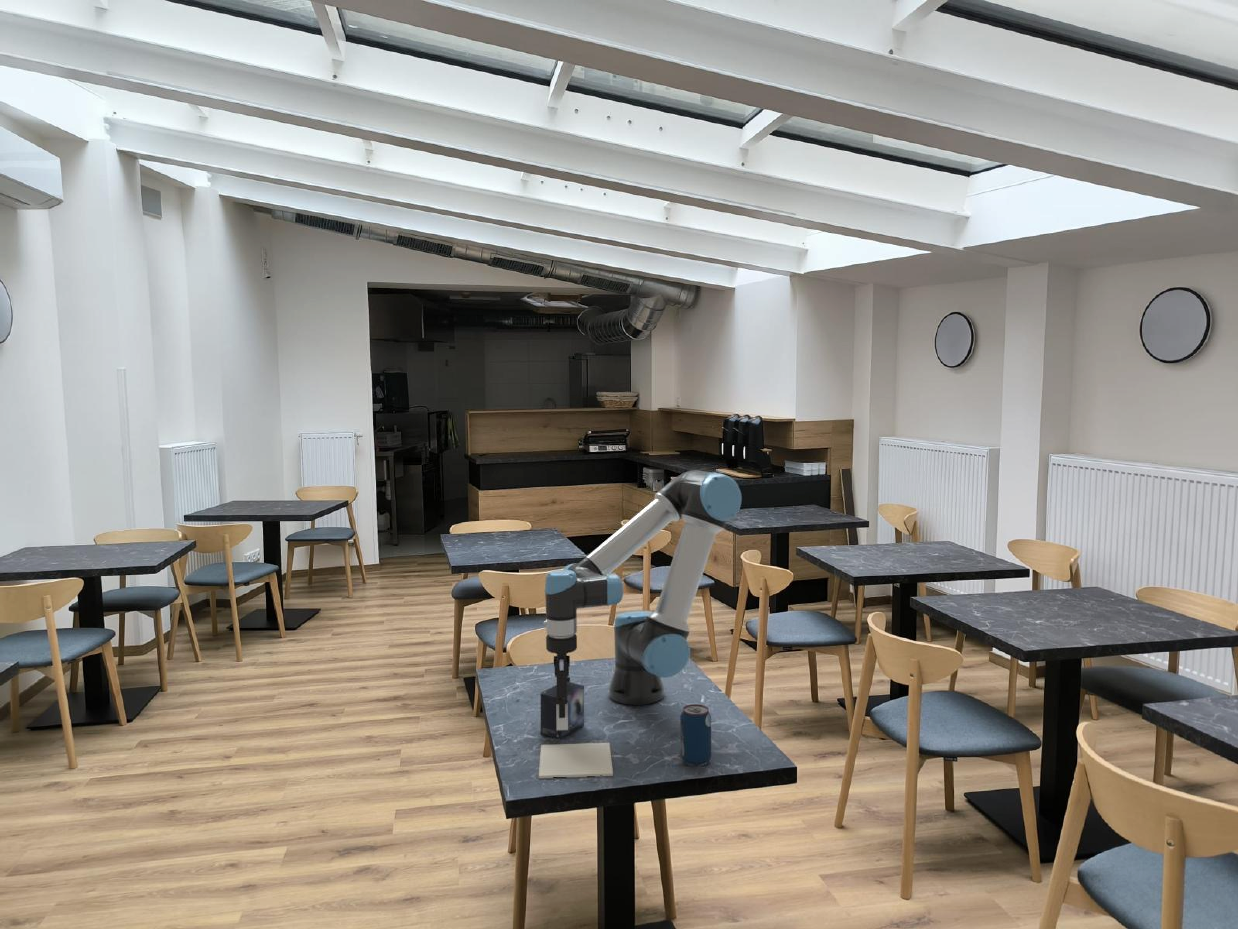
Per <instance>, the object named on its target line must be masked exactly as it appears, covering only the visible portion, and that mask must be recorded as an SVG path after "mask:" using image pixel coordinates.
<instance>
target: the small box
mask: <svg viewBox="0 0 1238 929" xmlns="http://www.w3.org/2000/svg"><path fill="white" fill-rule="evenodd" d="M559 699H565V698H559ZM556 700H557V684H556V685H553V686H552V687H549V688H548V689H546V690H544V691H541V692H540V726H539V728H540V731H539V733H540V735H543V736H547V737H551V738H554V739H558V740H561V739H562V738H564V737H567V736H568V735H569V734H571V733H573V732H575V731H576V730H578V729H580V728H581V727H583V726H585V685H582V684H578V683H574V682H571V681H570V682H567V700H568V730H557V721H556V704H555V705H554V701H556Z"/></svg>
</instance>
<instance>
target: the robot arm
mask: <svg viewBox="0 0 1238 929" xmlns="http://www.w3.org/2000/svg"><path fill="white" fill-rule="evenodd" d="M742 498H743V497H742V492H741V489H740V487H739V484H738V483H737V481H735V479H733V478H732V477H730V476H729V475H726V474H723V473H719V472H712V471H711V472H710V471H704V470H699V469H694V470H688V471H686V472H683V473H681V474H680V475H678V476H677V477H675V478H674V479H672V480H671V481H669V482H668V483H666V484H665V485H664V486H663V487H662V488H661V489H659V490H658V491H657V492H656V493H655V494H654V499H653V500H652V501H650V503H649V504H647V505H646V506H645V507H644V508H643V509H642V510H640V511H639V512H638V513H637V514H635V515H634V516H633V517H632V518H630V519H629V520H628V521H627V522H626V523H625V524H623V526H621V527H620V528H619V529H618V530H616V531H615V532H614V533H613V534H612V535H610V536H609V537H608V538H607V539H606V540H604V542H602V543H600V545H599V546H598V547H596V548H595V549H594V550H592V551H591V552H590V553H589V554H588V555H587V556H586V557H584V558H583V559H582V560H581V561H579V562H578V563H571V564H567V565H566V566H565V567H564V568H563V569H556V570H551V571H549V572H547V573H546V576H545V582H544V583H545V586H544V587H545V588H544V595H545V620H544V621H543V625H544V626H545V631H546V632H545V633H546V634H547V635H546V636H545V645H546V646H545V647H546V651H547V652H549V653H551V654H556V655H553V667H554V677H555V678H556V685H557V700H556V701H554V705H555V704H556V721H557V730H568V700H567V682H571V677H570V666H571V658H570V655H568V654H569V653H573V652H575V651H577V648H578V636H577V634H576V633H578V616H577V614H578V613H577V610H578V609H586V608H587V609H588V608H594V607H595V608H597V607H609V606H612V605H616V604H617V605H618V604H619V603H621V601H622V600H623V597H624V585H623V581H622V579H621V577H620V576H619V575H618V574H611V573H612V572H613V571H615V570H616V569H618V568H619V566H621V565H622V564H623V563H624V562H625V561H627V560H628V559H630V557H631V556H632V555H634V554H635V553H636V552H637V551H638V550H639V549H641V548H642V547H643V546H644V545H645V544H647V543H648V542H649V541H650V540H651V539H653V538H654V537H655V536H657V534H659V533H660V532H661V531H662V530H663V529H664V528H666V527H667V526H668V525H669V524H670V523H671V522H679V520H681V519H682V520H683V522H684V526H683V528H682V532H681V534H680V537H679V538H678V539H679V540H678V543H677V546H676V549H675V551H674V555H673V557H672V560H671V564H670V566H669V569H668V572H667V575H666V578H665V582H664V584H663V587H662V589H661V593H660V596H659V598H658V601H657V604H656V606H655V610H653V611H649V610H634V611H627V612H622V613H618V614H616V616H615V617H614V627H613V630H614V632H613V633H614V670H613V673H612V676H611V680H610V683H609V686H608V697H609V699H611V700H612V701H613V702H616V703H617V704H618V703H619V704H624V705H630V706H631V705H633V706H643V705H648V704H653V703H657V702H659V701H661V700H662V699H664V698H665V697H664V696H665V686H664V683H663V679H662V678H671V677H674V676H675V675H677V674H680V673H681V672H682V671H683V670H685V667H686V666H687V665H688V662H689V661H690V657H691V648H690V645H689V642H688V641H687V640H688V637H689V634H690V631H691V629H690V627H689V624H688V619H689V616H690V612H691V610H692V607H693V604H694V601H695V598H696V595H697V592H698V590H699V589H698V588H699V587H700V582H701V581H702V577H703V576H704V575H703V574H704V571H705V568H706V565H707V562H708V560H709V556H710V553H711V550H712V547H713V545H714V541H715V538H716V535H717V534H718V533H720V532H723V531H724V530H725V527H726V524H727V521H729V520H731V519H732V518H734V517H735V516H736V515H737V514H738V513H739V511H740V508H741V507H742V506H741V505H742ZM559 698H565V699H559Z"/></svg>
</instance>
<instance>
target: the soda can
mask: <svg viewBox="0 0 1238 929" xmlns="http://www.w3.org/2000/svg"><path fill="white" fill-rule="evenodd" d="M679 727H680V728H679V729H680V730H679V731H680V732H679V733H680V734H679V737H680V738H679V742H680V745H679V746H680V750H679V752H680V754H679V755H680V758H681V759H682V761H683V763H684V762H685V763H684V764H686V763H687V764H690V765H702V764H705V763H707V762H708V763H709V761H710V760H711V758H712V715H711V713H710V710H709V708H708V706H705V705H703V704H688V705H685V706H684V707H682V712H681V714H680V722H679ZM708 763H707V764H708ZM687 764H686V765H687ZM690 765H689V766H690Z"/></svg>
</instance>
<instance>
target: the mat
mask: <svg viewBox="0 0 1238 929" xmlns="http://www.w3.org/2000/svg"><path fill="white" fill-rule="evenodd" d="M610 745H611V744H610V742H589V743H588V742H587V743H559V744H556V743H555V744H541V745H540V753H539V754H540V755H539V768H538V769H539V770H538V779H539V778H540V779H554V778H553V777H567V778H586V777H587V776H595V777H613V776H614V770H613V763H612V755H611V753H612V752H611V746H610ZM600 775H602V776H600ZM587 778H588V777H587Z"/></svg>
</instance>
